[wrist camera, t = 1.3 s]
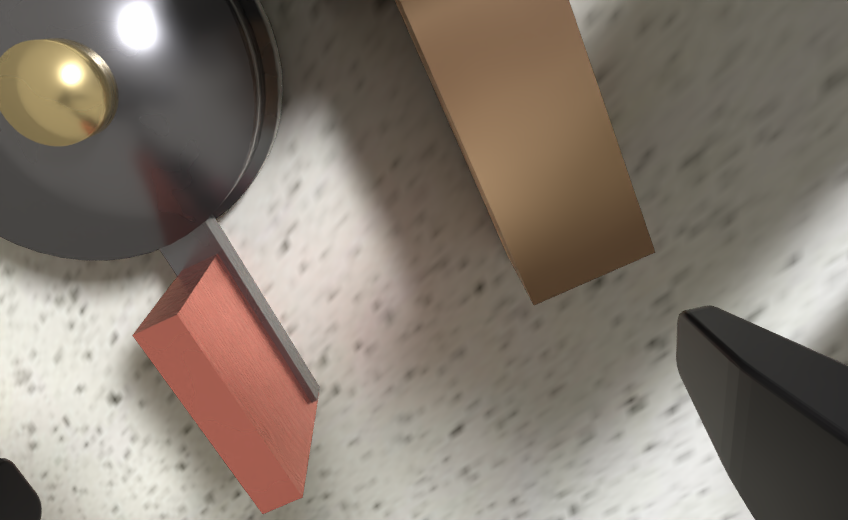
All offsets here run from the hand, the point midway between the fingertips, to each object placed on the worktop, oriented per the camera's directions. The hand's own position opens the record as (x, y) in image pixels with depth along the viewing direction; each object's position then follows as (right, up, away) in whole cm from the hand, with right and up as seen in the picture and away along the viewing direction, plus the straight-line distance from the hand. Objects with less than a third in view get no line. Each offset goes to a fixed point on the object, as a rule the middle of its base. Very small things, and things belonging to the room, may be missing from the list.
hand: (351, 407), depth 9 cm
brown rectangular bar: (+2, +9, +10) cm, 14 cm away
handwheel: (-6, +4, +10) cm, 13 cm away
